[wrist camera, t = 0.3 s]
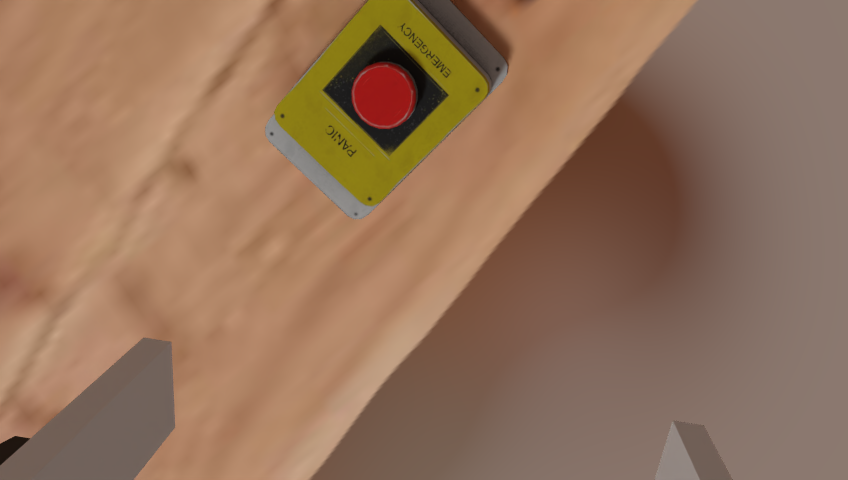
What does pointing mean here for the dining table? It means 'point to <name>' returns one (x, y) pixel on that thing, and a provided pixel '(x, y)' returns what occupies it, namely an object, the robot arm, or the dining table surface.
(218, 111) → the dining table surface
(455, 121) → the emergency button
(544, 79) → the dining table surface
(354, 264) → the dining table surface
